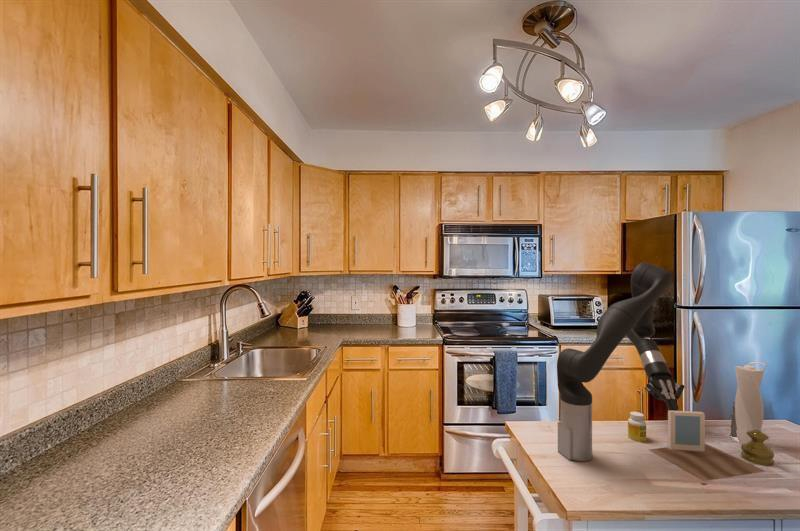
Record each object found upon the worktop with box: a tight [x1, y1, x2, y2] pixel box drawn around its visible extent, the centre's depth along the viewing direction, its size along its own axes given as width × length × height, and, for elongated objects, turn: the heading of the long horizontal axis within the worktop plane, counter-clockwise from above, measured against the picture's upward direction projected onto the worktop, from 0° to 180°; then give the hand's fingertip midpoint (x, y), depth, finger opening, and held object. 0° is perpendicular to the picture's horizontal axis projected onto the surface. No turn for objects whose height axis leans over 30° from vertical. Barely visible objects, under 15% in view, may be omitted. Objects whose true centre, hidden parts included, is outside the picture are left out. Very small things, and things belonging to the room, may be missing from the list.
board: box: [648, 442, 765, 486], centre depth 117 cm, size 22×18×1 cm
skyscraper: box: [729, 361, 767, 445], centre depth 130 cm, size 8×8×28 cm
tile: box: [667, 410, 706, 451], centre depth 123 cm, size 10×2×12 cm, turn 82°
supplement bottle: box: [627, 411, 647, 443], centre depth 131 cm, size 5×5×10 cm
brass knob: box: [740, 430, 775, 467], centre depth 117 cm, size 7×7×10 cm
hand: (674, 411), depth 130 cm, fingers closed
